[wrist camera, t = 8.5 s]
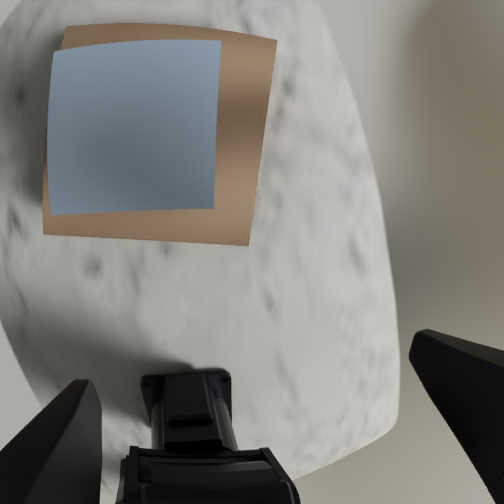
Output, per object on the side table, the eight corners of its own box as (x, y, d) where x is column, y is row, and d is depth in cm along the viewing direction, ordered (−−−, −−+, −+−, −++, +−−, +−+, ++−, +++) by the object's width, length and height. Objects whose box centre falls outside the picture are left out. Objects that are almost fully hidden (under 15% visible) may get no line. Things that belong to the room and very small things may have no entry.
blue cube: (201, 186, 14) (213, 208, 9) (91, 190, 12) (50, 215, 8) (205, 75, 12) (221, 40, 7) (93, 80, 11) (53, 51, 6)
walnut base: (233, 225, 19) (248, 246, 15) (68, 215, 16) (43, 234, 12) (256, 60, 16) (277, 40, 12) (86, 48, 13) (66, 26, 10)
